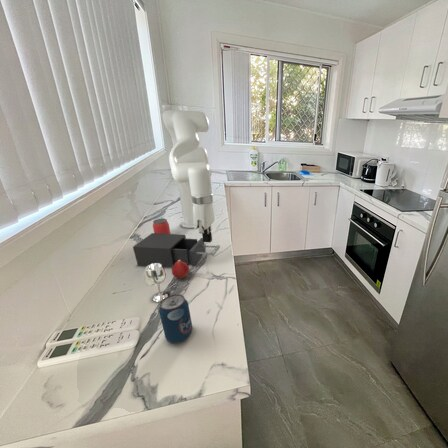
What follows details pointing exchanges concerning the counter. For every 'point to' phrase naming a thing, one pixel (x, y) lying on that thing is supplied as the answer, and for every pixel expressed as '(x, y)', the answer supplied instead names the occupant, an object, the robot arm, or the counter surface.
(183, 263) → the onion
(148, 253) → the dark grey cabinet
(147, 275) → the wineglass
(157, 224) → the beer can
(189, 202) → the robot arm
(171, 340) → the soda can
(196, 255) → the drawer
